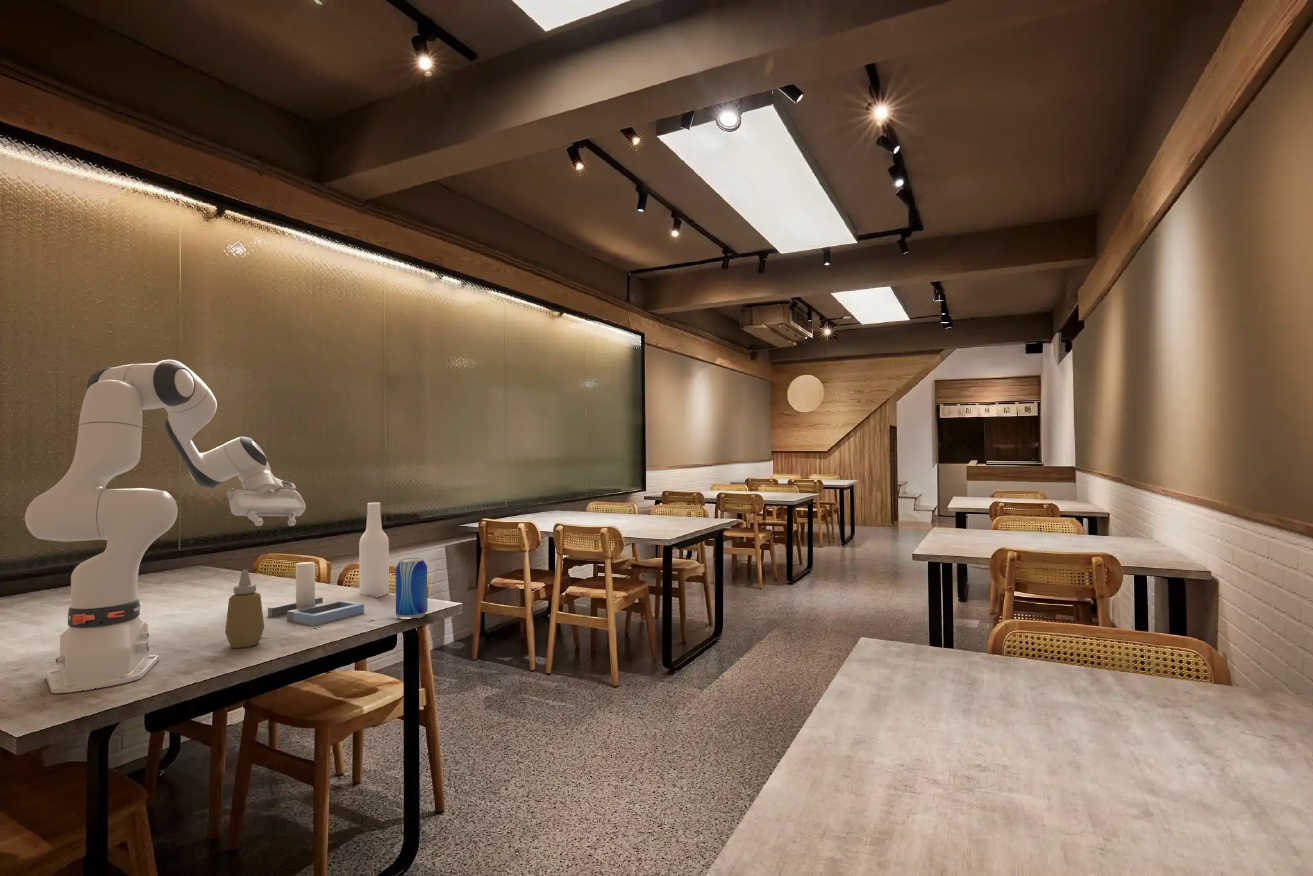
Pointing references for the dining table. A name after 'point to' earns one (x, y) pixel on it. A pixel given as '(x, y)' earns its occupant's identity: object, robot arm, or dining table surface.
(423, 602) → the beer can
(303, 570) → the plug post
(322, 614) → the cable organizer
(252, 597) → the squeeze bottle
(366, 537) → the alcohol
